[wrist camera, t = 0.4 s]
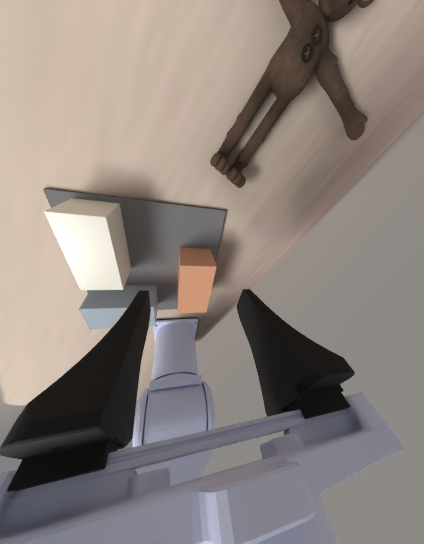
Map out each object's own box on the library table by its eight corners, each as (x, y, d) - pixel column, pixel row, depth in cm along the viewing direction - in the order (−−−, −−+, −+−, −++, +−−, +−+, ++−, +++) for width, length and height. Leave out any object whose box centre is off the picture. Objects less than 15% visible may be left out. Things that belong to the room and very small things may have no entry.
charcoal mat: (205, 306, 28) (205, 308, 28) (97, 310, 24) (96, 311, 24) (225, 210, 18) (225, 211, 18) (45, 188, 14) (43, 188, 14)
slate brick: (156, 285, 23) (153, 306, 20) (157, 303, 25) (155, 325, 22) (93, 285, 21) (79, 309, 18) (101, 305, 23) (89, 329, 20)
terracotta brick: (202, 292, 25) (206, 312, 22) (177, 292, 24) (177, 313, 21) (210, 248, 21) (216, 266, 17) (179, 247, 20) (180, 265, 17)
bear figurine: (115, 84, 10) (390, -1154, 2) (133, 94, 13) (272, -414, 5) (286, 229, 18) (458, 66, 11) (271, 214, 21) (397, 80, 14)
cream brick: (131, 268, 20) (123, 289, 17) (95, 267, 19) (80, 290, 16) (119, 203, 16) (105, 217, 12) (72, 198, 15) (44, 211, 11)
